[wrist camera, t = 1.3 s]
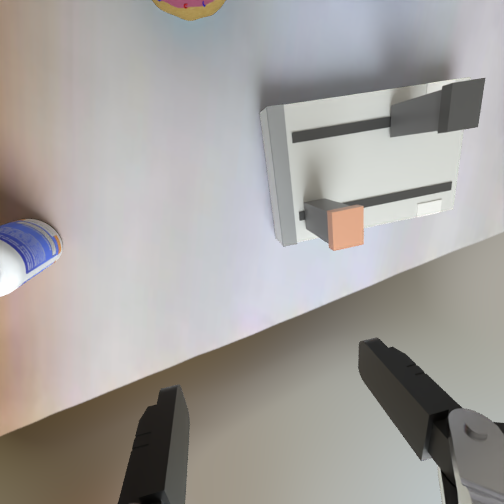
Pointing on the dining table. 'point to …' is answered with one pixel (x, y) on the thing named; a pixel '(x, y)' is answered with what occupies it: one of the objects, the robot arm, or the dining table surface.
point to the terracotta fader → (335, 222)
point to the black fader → (439, 110)
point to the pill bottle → (26, 251)
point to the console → (356, 160)
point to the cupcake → (190, 8)
